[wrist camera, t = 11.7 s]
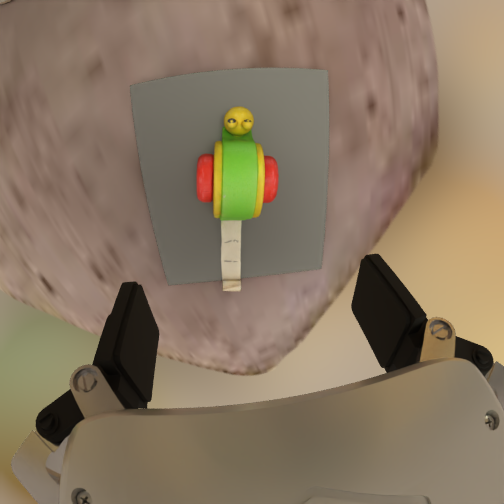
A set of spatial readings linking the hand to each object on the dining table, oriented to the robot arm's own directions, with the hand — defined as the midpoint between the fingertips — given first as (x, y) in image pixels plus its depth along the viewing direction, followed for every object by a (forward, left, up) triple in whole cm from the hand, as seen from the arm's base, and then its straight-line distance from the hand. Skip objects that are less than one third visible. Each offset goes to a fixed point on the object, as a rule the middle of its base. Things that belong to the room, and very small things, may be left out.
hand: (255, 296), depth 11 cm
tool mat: (0, 0, -17) cm, 17 cm away
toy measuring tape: (0, -3, -17) cm, 17 cm away
